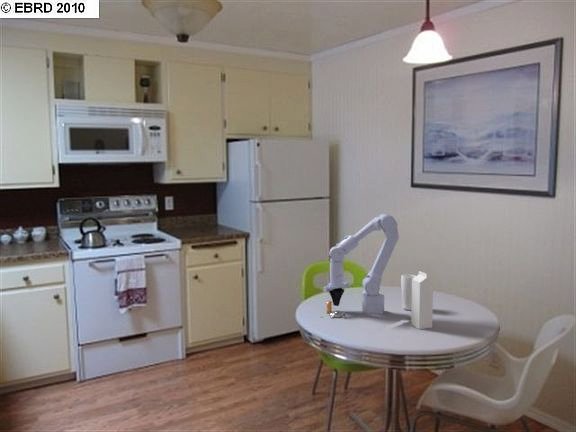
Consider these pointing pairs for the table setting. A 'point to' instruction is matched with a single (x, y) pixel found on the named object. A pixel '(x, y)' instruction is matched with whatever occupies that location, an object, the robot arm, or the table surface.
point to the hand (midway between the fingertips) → (336, 305)
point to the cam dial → (334, 313)
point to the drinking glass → (406, 291)
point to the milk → (422, 301)
